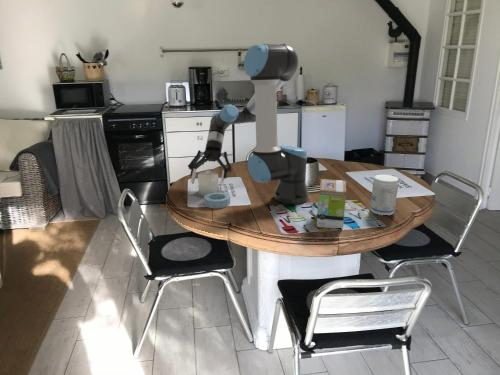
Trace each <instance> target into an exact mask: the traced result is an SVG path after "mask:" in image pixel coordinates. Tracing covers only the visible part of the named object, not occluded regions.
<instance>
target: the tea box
mask: <svg viewBox="0 0 500 375" xmlns="http://www.w3.org/2000/svg"><path fill="white" fill-rule="evenodd" d="M346 198H347V181H346V180H340V179H327V178H325V179H324V178H321V179H320V185H319V189H318V199H317V200H318V202H317V211H316V212H317V214H316V227H318V228H327V229H335V228H341V229H340V230H342V229H344V220H345V212H346V211H345V210H346V200H347V199H346Z"/></svg>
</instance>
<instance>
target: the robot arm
mask: <svg viewBox="0 0 500 375" xmlns="http://www.w3.org/2000/svg"><path fill="white" fill-rule="evenodd" d="M298 67H299V57H298V54H297V52H296V51H295V49H294V48H293V47H292V46H290V45H287V44H275V43H274V44H270V43H269V44H268V43H260V44H253V45H252V46H250V47H249V48H248V49H247V51H246V52H245V55H244V58H243V69H244V71H245V73H246V75H247V76H249V77H250V82H251V83H252V84H253V85H254V94H253V95H252V97H251V98H250V100H249V101H248V102H247V103H246V105H245V106H240V107H236V106H235V105H233V104H227V105H225V106H224V107H222V108H221V110H220V111H219V112H218V113H214V114H212V115H211V119H210V124H209V129H208V133H207V139H206V142H205V143H206V144H205V148H204V151H201V150H197V153H196V155H195V156H194V157H193V159H191V161H190V162H189V164H188V165H187V167H188V169H189V170H190V177H191V179H190V182H191V185H194V184H195V180H196V175H197V170H198V169H199V168H200V167H201V166H203V164H206V163H207V162H213V163H215V162H217V163H218V164H219V165H220V166H219V167H221V168H222V171H221V172H222V173H221V176H220V182H219V183H220V186H223V187H224V182H225V179H227V178H228V177H227V176H228V173H230V172H231V173H232V171H233V170H232V166H231V163H230V161H229V158H228V153H227V151H224V152H222V149H223V143H224V138H225V133H226V130H227V129H228V128H229V127H230V126H231V125H239V124H246V123H247V124H248V123H255V137H256V138H255V140H256V141H255V142H256V145H255V146H254V148H253V149H252V154H251V155H250V156H249V157H248V159H247V165H246V166H247V171H248V173H249V175H250V176H251V178H252V179H253V181H255V182H257V183H259V184H260V183H261V184H262V183H270V182H272V181H277V180H278V182H277V184H276V187H275V191H274V200H276V202H279V203H282V204H289V205H297V204H303V203H307V202H308V201H309V200H310V193H309V190H308V187H307V182H306V181H307V180H306V175H307V174H306V173H307V164H308V163H307V161H308V158H307V157H308V156H307V150H306V149H305V148H302V147H298V146H292V145H281V146H279V145H278V106H277V104H278V103H277V102H278V100H277V97H278V96H277V92H279V90H280V89H281V88H282V86H283V85H284V84H286V82H289V81H290V80H291V79H292V78H293V76H294V75H295V74H296V72H297V70H298ZM221 157H222V158H224V161H225V163H226V165H227V166H226V165H225V163H224V162H223V161H222V160H221V159H220V158H221Z"/></svg>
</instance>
